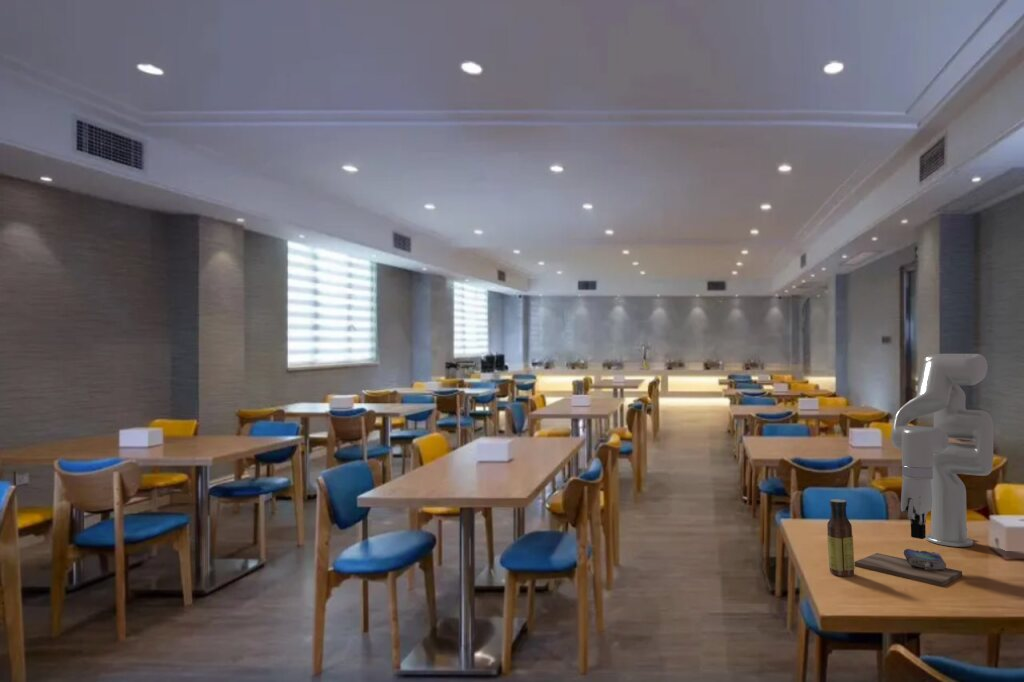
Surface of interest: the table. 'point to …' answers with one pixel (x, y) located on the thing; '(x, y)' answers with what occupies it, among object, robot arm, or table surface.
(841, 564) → the sauce bottle
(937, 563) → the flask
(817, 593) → the table surface
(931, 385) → the robot arm
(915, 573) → the walnut board
